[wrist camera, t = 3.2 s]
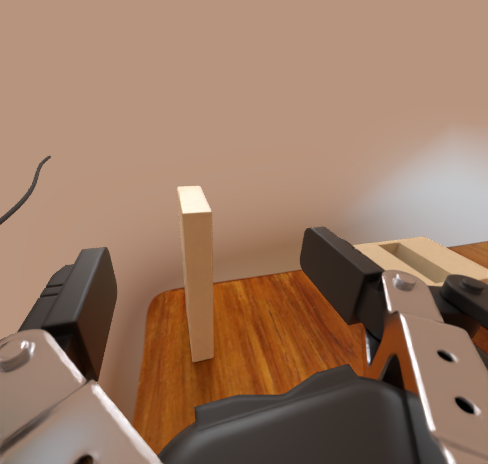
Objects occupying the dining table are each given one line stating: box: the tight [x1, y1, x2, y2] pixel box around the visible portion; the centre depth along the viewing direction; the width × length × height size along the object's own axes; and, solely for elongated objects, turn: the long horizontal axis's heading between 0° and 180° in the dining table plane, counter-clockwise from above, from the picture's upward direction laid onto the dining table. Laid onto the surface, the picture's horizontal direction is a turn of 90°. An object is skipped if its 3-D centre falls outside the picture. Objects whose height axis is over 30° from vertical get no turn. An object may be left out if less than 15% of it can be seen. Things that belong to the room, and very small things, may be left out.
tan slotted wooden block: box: [353, 237, 488, 286], centre depth 31 cm, size 15×9×6 cm, turn 107°
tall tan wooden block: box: [177, 186, 214, 362], centre depth 22 cm, size 6×2×15 cm, turn 17°
